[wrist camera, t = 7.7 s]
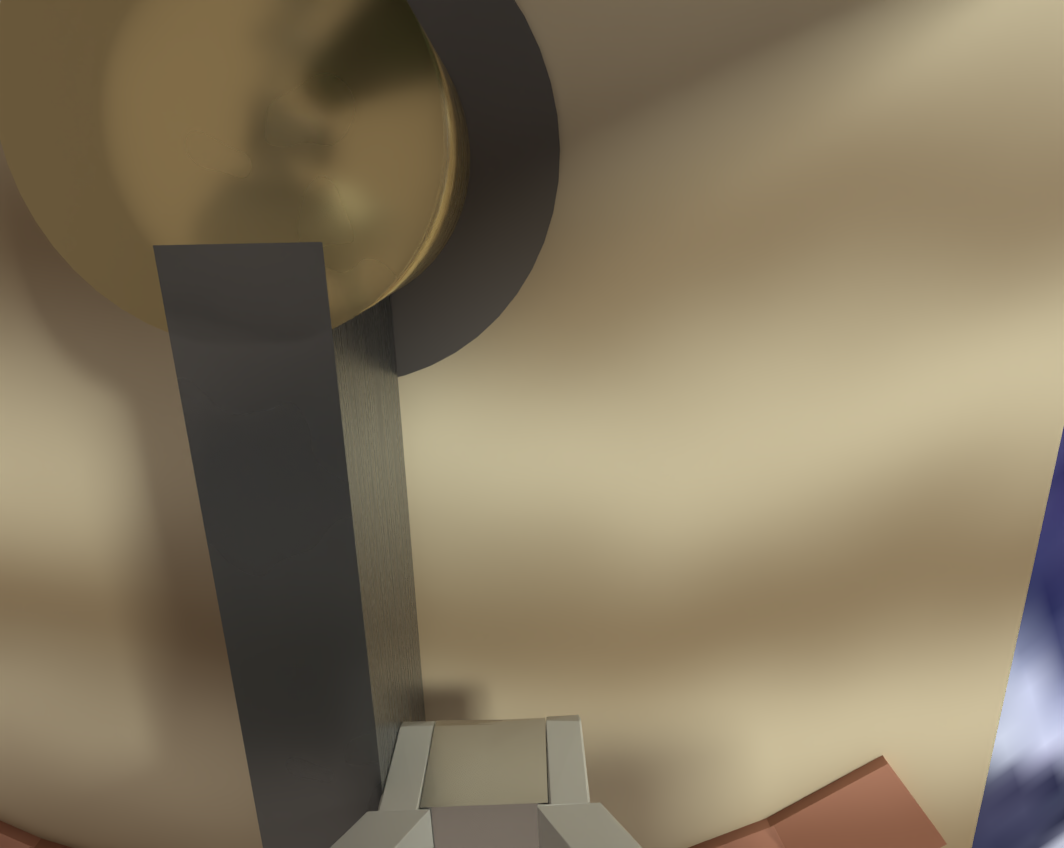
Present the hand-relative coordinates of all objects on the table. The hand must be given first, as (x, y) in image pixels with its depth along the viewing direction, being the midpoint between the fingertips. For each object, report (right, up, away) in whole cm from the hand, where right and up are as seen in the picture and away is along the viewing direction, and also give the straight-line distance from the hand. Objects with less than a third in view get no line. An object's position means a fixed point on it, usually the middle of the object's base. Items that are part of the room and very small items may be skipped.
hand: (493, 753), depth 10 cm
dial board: (-2, +3, +3) cm, 5 cm away
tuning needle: (-2, +3, +1) cm, 4 cm away
